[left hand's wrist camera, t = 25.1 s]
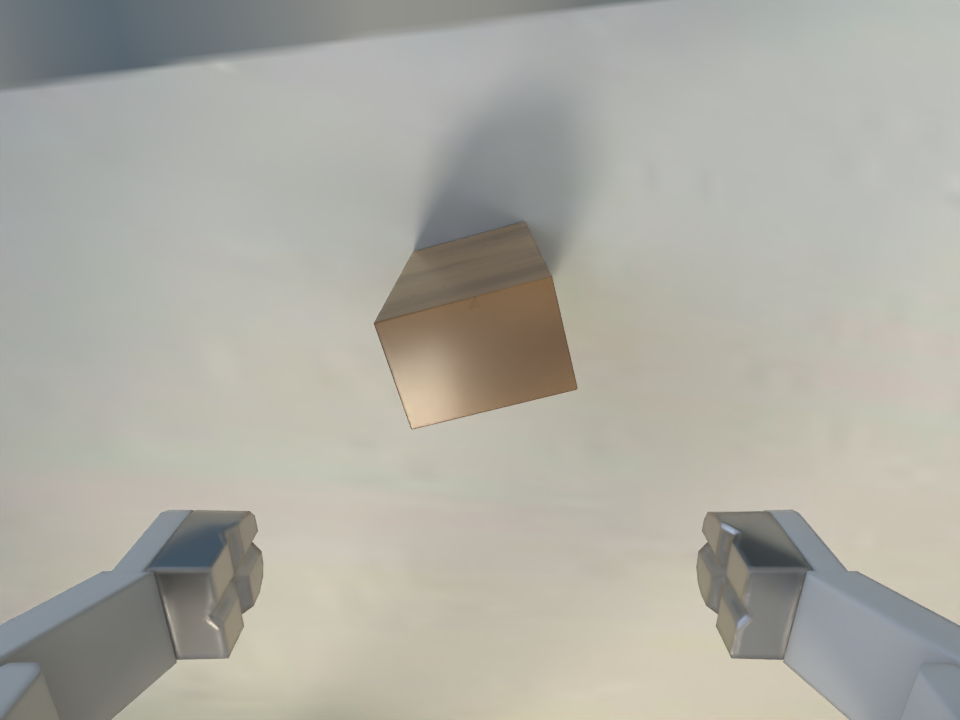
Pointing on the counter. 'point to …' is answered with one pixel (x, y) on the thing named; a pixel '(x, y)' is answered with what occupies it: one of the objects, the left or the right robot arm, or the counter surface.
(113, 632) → the left robot arm
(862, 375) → the counter surface
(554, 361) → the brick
